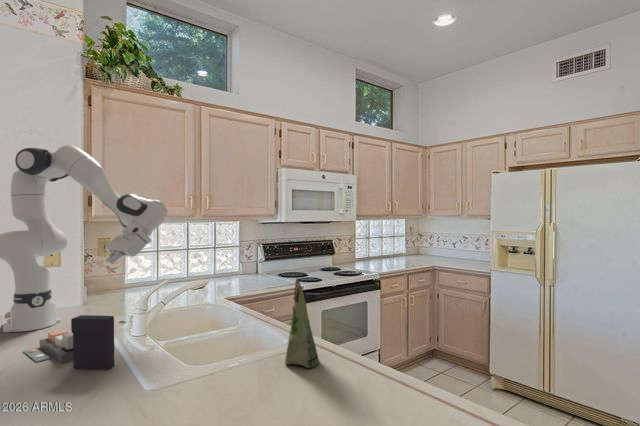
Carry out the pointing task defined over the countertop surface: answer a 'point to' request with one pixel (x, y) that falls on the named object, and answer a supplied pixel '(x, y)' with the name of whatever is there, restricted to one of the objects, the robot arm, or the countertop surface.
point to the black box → (93, 342)
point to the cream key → (58, 341)
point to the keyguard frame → (56, 351)
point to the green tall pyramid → (301, 334)
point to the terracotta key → (55, 333)
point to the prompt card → (36, 355)
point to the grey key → (67, 340)
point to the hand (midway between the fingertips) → (108, 262)
